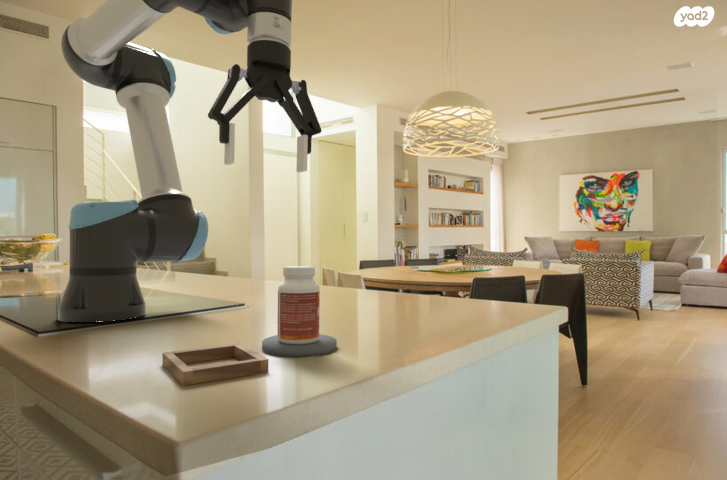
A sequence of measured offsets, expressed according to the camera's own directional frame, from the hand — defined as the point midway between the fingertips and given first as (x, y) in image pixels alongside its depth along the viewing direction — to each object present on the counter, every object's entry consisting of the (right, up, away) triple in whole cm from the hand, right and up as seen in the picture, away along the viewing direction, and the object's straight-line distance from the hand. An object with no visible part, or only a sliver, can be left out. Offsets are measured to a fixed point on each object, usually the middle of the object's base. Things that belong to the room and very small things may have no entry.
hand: (267, 168), depth 82 cm
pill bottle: (+7, -28, -13) cm, 31 cm away
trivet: (+7, -29, -12) cm, 32 cm away
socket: (-2, -29, -24) cm, 37 cm away
